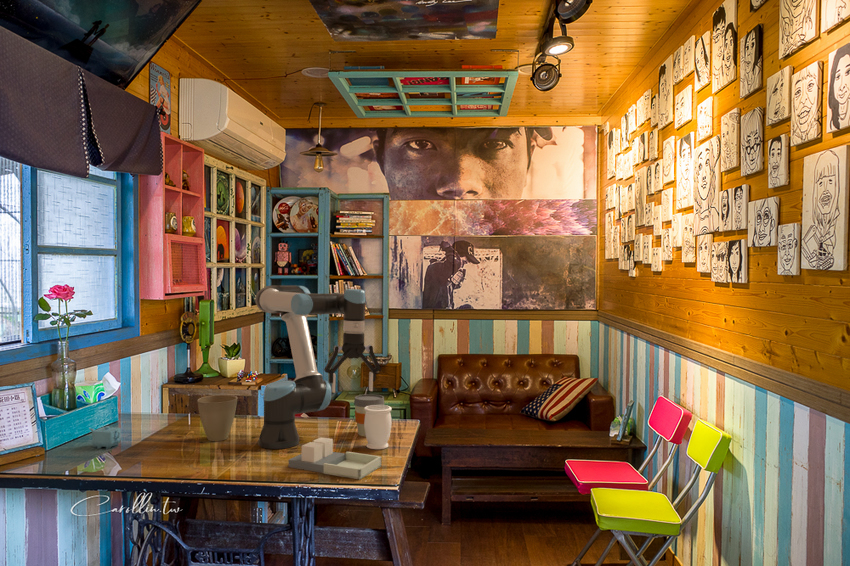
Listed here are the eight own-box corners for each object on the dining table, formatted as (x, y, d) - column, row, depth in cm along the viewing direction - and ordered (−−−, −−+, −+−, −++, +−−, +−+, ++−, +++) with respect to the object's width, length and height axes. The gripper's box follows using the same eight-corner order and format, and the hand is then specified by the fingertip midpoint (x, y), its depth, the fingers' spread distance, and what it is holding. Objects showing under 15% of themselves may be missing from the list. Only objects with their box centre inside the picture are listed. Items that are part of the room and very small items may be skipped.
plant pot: (217, 432, 234) (217, 393, 234) (245, 436, 227) (245, 397, 227) (188, 441, 220) (188, 400, 220) (216, 446, 214) (217, 404, 214)
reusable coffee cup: (358, 438, 226) (359, 401, 226) (349, 431, 238) (350, 395, 238) (388, 435, 231) (388, 399, 231) (378, 428, 243) (378, 393, 243)
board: (288, 467, 191) (288, 459, 191) (312, 455, 204) (312, 448, 204) (323, 473, 186) (323, 465, 186) (345, 460, 199) (345, 453, 199)
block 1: (301, 460, 190) (301, 445, 190) (310, 456, 195) (310, 441, 195) (314, 462, 188) (314, 447, 188) (322, 458, 193) (322, 443, 193)
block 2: (312, 455, 196) (312, 440, 196) (320, 451, 201) (320, 437, 201) (324, 457, 194) (325, 442, 194) (332, 453, 199) (332, 439, 199)
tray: (323, 473, 185) (323, 463, 185) (346, 460, 199) (347, 451, 199) (359, 479, 180) (360, 469, 180) (381, 466, 194) (381, 456, 194)
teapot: (83, 448, 209) (83, 428, 209) (93, 443, 215) (94, 424, 215) (114, 449, 208) (115, 429, 208) (124, 444, 214) (124, 425, 214)
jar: (387, 451, 210) (387, 411, 210) (360, 449, 212) (360, 409, 212) (394, 443, 220) (394, 405, 220) (368, 441, 222) (369, 403, 222)
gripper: (320, 333, 195) (319, 395, 196) (390, 333, 204) (388, 391, 204) (317, 331, 202) (315, 390, 203) (384, 330, 211) (383, 387, 211)
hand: (352, 391), depth 203 cm, fingers open, 13 cm apart
